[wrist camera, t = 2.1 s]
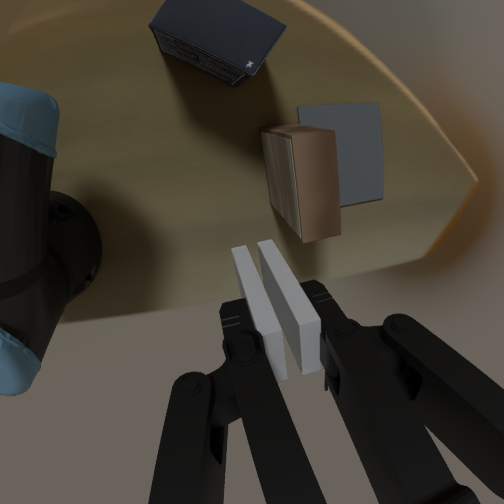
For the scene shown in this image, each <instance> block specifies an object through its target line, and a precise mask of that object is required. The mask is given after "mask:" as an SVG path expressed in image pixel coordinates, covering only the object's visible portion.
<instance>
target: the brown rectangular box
mask: <svg viewBox="0 0 504 504" xmlns="http://www.w3.org/2000/svg"><path fill="white" fill-rule="evenodd" d="M260 134H261V141H262V147H263V154H264V161H265V168H266V175H267V182H268V189H269V196H270V203H271V206H272V207H273V208H274V209H275V211H276V212H277V213H278V214H279V215H280V216H281V218H282V219H283V220H284V221H285V222H286V224H287V225H288V226H289V227H290V228H291V230H292V231H293V232H294V233H295V235H296V236H297V237H298V238H299V239H300V241H301V242H302V243H307V242H312V241H316V240H320V239H324V238H329V237H333V236H337V235H341V212H340V190H339V174H338V159H337V147H336V136H335V130H329V129H324V128H318V127H312V126H305V125H299V124H292V123H291V124H283V125H275V126H268V127H262V128H260Z"/></svg>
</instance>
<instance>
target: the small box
mask: <svg viewBox="0 0 504 504" xmlns="http://www.w3.org/2000/svg"><path fill="white" fill-rule="evenodd" d="M148 26H149V28H150V29H151V31H152V32H153V34H154V37H155V39H156V41H157V44H158V46H159V50H160V51H162V52H164V53H166V54H168V55H171V56H173V57H175V58H177V59H179V60H181V61H183V62H186V63H188V64H190V65H192V66H194V67H196V68H198V69H200V70H202V71H204V72H205V73H208V74H210V75H212V76H214V77H215V78H217V79H219V80H221V81H223V82H225V83H227V84H229V85H231V86H233V87H234V88H235V87H239V85H240V84H241V83H243V82H244V81H245V80H247V79H248V78H250V77H251V76H254V75H255V74H256V72H257V71H258V69H259V68H260V66H261V65H262V63H263V62H264V60H265V59H266V57H267V56H268V54H269V53H270V51H271V50H272V48H273V47H274V46H275V44H276V43H277V41H278V40H279V38H280V37H281V36H282V34H283V33H284V32H285V30H286V29H287V26H286V25H285V24H283V23H281V22H280V21H278V20H276V19H275V18H273V17H271V16H270V15H268V14H266V13H264V12H262V11H261V10H259V9H257V8H255V7H253V6H251V5H249V4H247V3H245V2H244V1H242V0H166V1H165V2H164V4H163V5H162V6H161V7H160V9H159V10H158V12H157V13H156V14H155V16H154V17H153V19H152V20H151V21H150V23H149V25H148Z"/></svg>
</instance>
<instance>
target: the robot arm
mask: <svg viewBox="0 0 504 504" xmlns="http://www.w3.org/2000/svg"><path fill="white" fill-rule="evenodd" d="M59 114H60V113H59V107H58V104H57V102H56V100H55V99H54V98H53V97H52V96H51V95H49V94H47V93H45V92H42V91H39V90H35V89H31V88H28V87H23V86H19V85H14V84H9V83H4V82H0V395H5V396H16V395H18V394H22V393H24V392H26V391H27V390H28V389H29V388H30V386H31V384H32V382H33V380H34V378H35V376H36V374H37V372H38V371H39V370H40V368H41V365H40V364H41V362H42V359H43V357H44V354H45V352H46V349H47V346H48V344H49V342H50V339H51V337H52V335H53V332H54V330H55V328H56V326H57V323H58V321H59V319H60V317H61V315H62V312H63V310H64V308H65V306H66V304H67V303H68V302H70V301H71V300H73V299H74V298H75V297H77V296H78V295H80V294H81V293H82V292H84V291H85V290H86V289H87V288H88V287H89V285H90V284H91V283H92V281H93V279H94V277H95V275H96V273H97V271H98V269H99V266H100V263H101V258H102V244H101V238H100V234H99V231H98V229H97V226H96V224H95V222H94V220H93V219H92V217H91V215H90V214H89V213H88V211H87V210H86V209H85V208H84V207H83V206H82V205H81V204H80V203H79V202H77V201H76V200H75V199H73V198H72V197H70V196H68V195H66V194H63V193H60V192H56V191H50V189H51V179H52V171H53V164H54V158H56V156H57V152H56V150H55V144H56V136H57V129H58V122H59ZM257 244H258V251H259V257H260V263H261V269H262V276H263V282H264V287H265V289H266V292H267V294H268V296H269V299H270V301H271V303H270V301H269V299H268V296H267V294H266V292H265V289H264V287H263V285H262V282H261V280H260V277H259V275H258V273H257V270H256V268H255V266H254V263H253V261H252V258H251V256H250V254H249V251H248V249H247V247H246V245H244V246H240V247H235V248H231V250H232V255H233V260H234V264H235V269H236V274H237V279H238V283H239V288H240V293H241V296H242V299H238V300H233V301H229V302H225V303H222V306H221V308H220V311H219V313H220V318H221V324H222V329H223V335H224V340H223V345H222V347H223V350H224V353H225V356H226V360H225V362H224V363H223V365H222V366H221V367H220V368H218V369H217V370H215V371H213V372H211V373H209V374H207V375H205V374H203V373H201V372H189V373H185V374H184V375H182V376H180V377H179V378H178V379H177V380H176V381H175V382H174V385H173V387H172V391H171V395H170V399H169V404H168V409H167V413H166V418H165V422H164V426H163V431H162V436H161V441H160V445H159V450H158V455H157V460H156V465H155V470H154V476H153V481H152V486H151V492H150V497H149V503H148V504H223V500H224V484H225V468H226V453H227V452H226V451H227V437H228V436H227V435H228V424H230V423H231V422H233V421H235V420H237V419H239V418H242V421H243V425H244V429H245V432H246V436H247V440H248V443H249V447H250V450H251V454H252V457H253V461H254V464H255V467H256V471H257V474H258V477H259V481H260V484H261V487H262V491H263V494H264V497H265V500H266V503H267V504H327V503H326V500H325V498H324V496H323V494H322V491H321V489H320V486H319V484H318V482H317V479H316V477H315V475H314V472H313V470H312V467H311V465H310V463H309V460H308V458H307V455H306V453H305V450H304V448H303V446H302V443H301V441H300V438H299V436H298V433H297V431H296V428H295V426H294V424H293V421H292V419H291V416H290V413H289V411H288V409H287V406H286V403H285V401H284V398H283V396H282V393H281V391H280V388H279V386H278V382H281V381H285V380H288V378H287V369H286V360H285V352H284V344H283V337H282V336H283V335H282V329H283V332H284V334H285V336H286V339H287V341H288V343H289V346H290V348H291V350H292V353H293V355H294V357H295V359H296V362H297V364H298V366H299V369H300V371H301V373H302V375H306V374H309V373H312V372H316V371H319V370H321V363H322V365H323V367H324V369H325V386H324V387H325V391H327V390H328V386H329V389H330V391H331V393H332V395H333V398H334V400H335V402H336V404H337V407H338V409H339V411H340V413H341V416H342V418H343V420H344V423H345V425H346V427H347V430H348V432H349V434H350V437H351V439H352V441H353V443H354V446H355V448H356V450H357V453H358V455H359V457H360V460H361V462H362V464H363V467H364V469H365V471H366V474H367V476H368V478H369V481H370V483H371V486H372V488H373V490H374V493H375V495H376V497H377V500H378V502H379V504H480V502H479V500H478V498H477V496H476V495H475V493H474V492H473V491H472V490H471V489H470V488H469V487H467V486H464V485H460V484H458V483H457V482H456V480H455V479H454V477H453V475H452V473H451V472H450V470H449V468H448V466H447V464H446V462H445V461H444V459H443V457H442V455H441V454H440V452H439V450H438V448H437V447H436V445H435V443H434V441H433V440H432V438H431V436H430V435H429V433H428V431H427V429H426V428H425V426H426V427H427V428H428V429H429V430H430V431H431V432H432V433H433V434H434V435H435V436H436V437H437V438H438V439H439V440H440V441H441V442H442V443H443V444H444V445H445V446H446V447H447V448H448V449H449V450H450V451H451V452H452V453H453V454H455V456H456V457H457V458H458V459H459V460H460V461H461V462H462V463H463V464H464V465H465V466H466V467H467V468H469V469H470V471H472V473H473V474H475V475H476V476H477V477H478V478H479V479H480V480H481V481H482V482H483V483H484V484H485V485H486V486H487V487H488V488H489V489H490V490H491V491H492V492H493V493H495V494H496V495H497V496H499V497H501V498H502V499H504V389H503V388H501V387H500V386H499V385H498V384H497V383H495V382H494V381H493V380H492V379H491V378H489V377H488V376H487V375H486V374H484V373H483V372H482V371H481V370H479V369H478V368H477V367H476V366H474V365H473V364H472V363H470V362H469V361H468V360H467V359H465V358H464V357H463V356H462V355H460V354H459V353H458V352H457V351H455V350H454V349H453V348H451V347H450V346H449V345H447V344H446V343H445V342H444V341H442V340H441V339H440V338H438V337H437V336H436V335H434V334H433V333H432V332H430V331H429V330H428V329H426V328H425V327H424V326H423V325H421V324H420V323H419V322H417V321H416V320H415V319H413V318H412V317H410V316H408V315H405V314H392V315H390V316H388V317H387V318H386V319H385V320H384V322H383V325H381V326H371V327H368V326H367V327H365V326H361V325H360V324H359V323H358V322H356V321H354V320H352V319H348V318H347V317H346V316H345V314H344V313H343V311H342V310H341V309H340V307H339V306H338V304H337V303H336V302H335V300H334V299H333V298H332V296H331V295H330V293H328V290H327V289H326V288H325V286H324V285H323V284H322V283H320V282H318V281H316V280H311V281H307V282H303V283H298V281H297V279H296V278H295V276H294V275H293V273H292V271H291V270H290V268H289V266H288V265H287V263H286V262H285V260H284V258H283V257H282V255H281V254H280V252H279V250H278V249H277V247H276V246H275V244H274V242H273V241H272V239H271V240H266V241H262V242H257ZM271 304H272V306H273V308H274V311H275V312H276V315H277V318H278V320H279V322H280V324H281V327H282V329H281V327H280V325H279V323H278V320H277V318H276V315H275V313H274V311H273V308H272V306H271ZM424 425H425V426H424Z"/></svg>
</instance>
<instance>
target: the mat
mask: <svg viewBox="0 0 504 504" xmlns="http://www.w3.org/2000/svg"><path fill="white" fill-rule="evenodd" d="M297 111H298V118H299V125H305V126H312V127H318V128H324V129H329V130H335V136H336V147H337V159H338V174H339V190H340V206H344V205H350V204H355V203H360V202H365V201H370V200H376V199H381V198H383V150H382V131H381V117H380V106H379V103H347V104H328V105H314V106H303V107H297Z"/></svg>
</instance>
